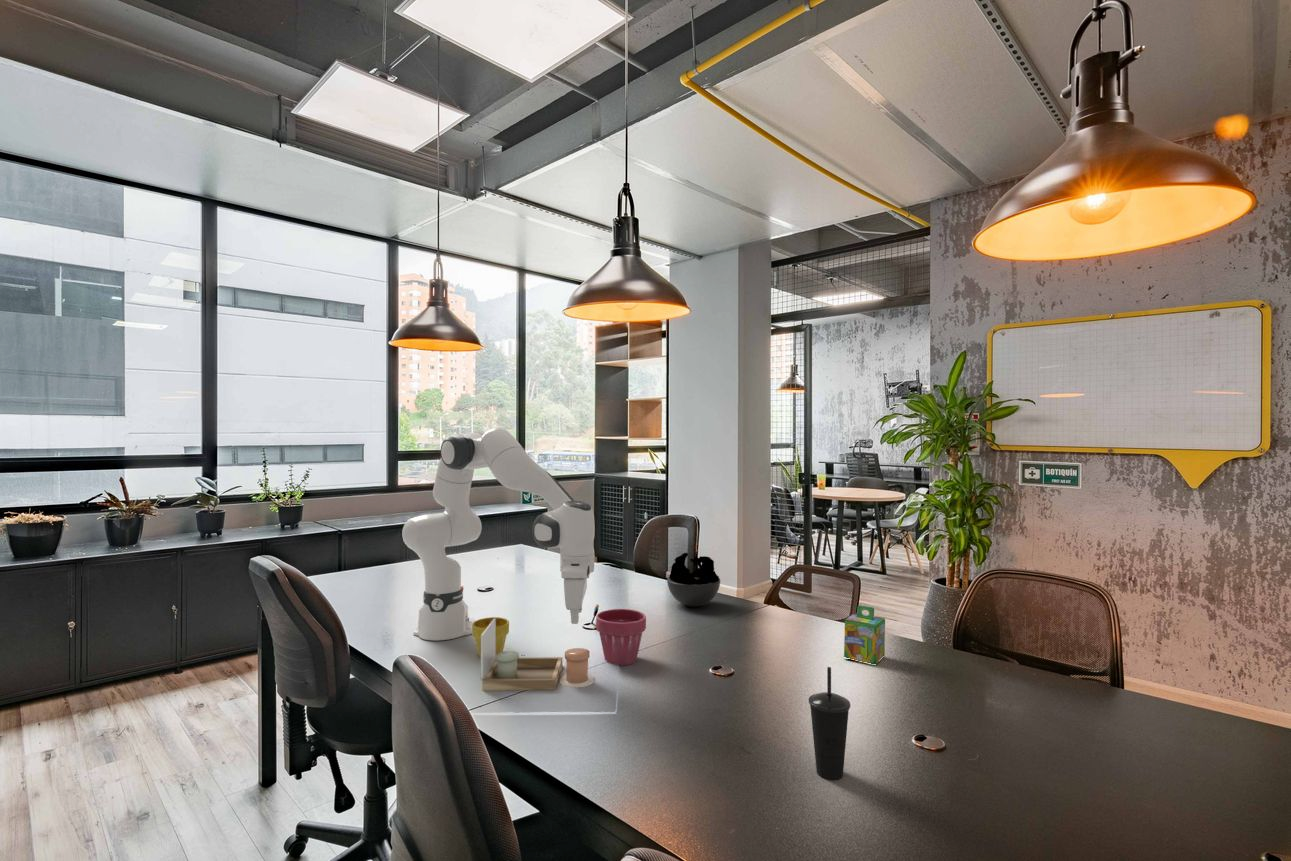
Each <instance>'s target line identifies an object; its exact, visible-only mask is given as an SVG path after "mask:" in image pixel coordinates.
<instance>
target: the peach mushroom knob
mask: <svg viewBox="0 0 1291 861" xmlns="http://www.w3.org/2000/svg"><path fill="white" fill-rule="evenodd" d="M590 654H591V653H590V650H589V649H587V648H584V647H575V648H569V649H567V650H565V651H564V659H565V660H566V662H565V664H566V665H565V667H566V670H565V675H566V681H567V682H569V683H573V684H579V683H584V682H586V681H587V680H588V674H589V658H591V656H590Z"/></svg>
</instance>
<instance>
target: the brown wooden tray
mask: <svg viewBox="0 0 1291 861" xmlns="http://www.w3.org/2000/svg"><path fill="white" fill-rule="evenodd" d="M562 668H563V656H561V657H560V656H556V657H555V656H554V657H553V656H551V657H549V656H548V657H545V656H544V657H543V656H542V657H538V656H537V657H533V656H532V657H529V656H527V657H519V658H518V660H517V678H516V679H497V661H495V663H494V664H493V666H492V668H491V669H490V671H489V672H488V674H487V676H486V677H485V679H483V681H482V691H483V692H484V691H488V692H489V691H492V692H493V691H555V690H556V688H557V684H558V682H559V680H560V675H561V671H562Z"/></svg>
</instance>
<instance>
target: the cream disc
mask: <svg viewBox="0 0 1291 861" xmlns="http://www.w3.org/2000/svg"><path fill="white" fill-rule="evenodd" d="M594 682H595V677H594V675H592V674H589V673H588V680H587V681H586V682H584V683H579V684H573V683H569V682H567V681H566V674H564V675H563V676H561V677H559V683H560V685H561V686H563V687H567V688H575V689H576V688H584V687H587V686H590V685H592V684H593V683H594Z"/></svg>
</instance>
